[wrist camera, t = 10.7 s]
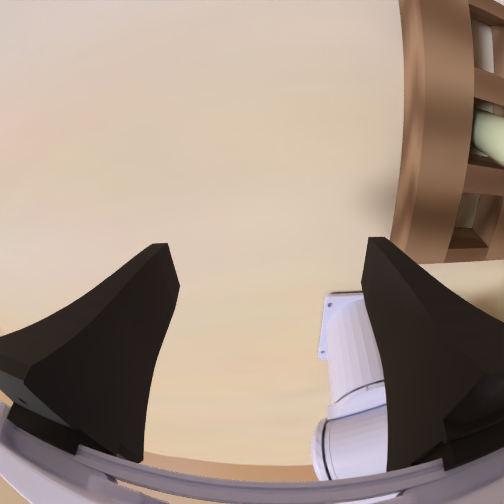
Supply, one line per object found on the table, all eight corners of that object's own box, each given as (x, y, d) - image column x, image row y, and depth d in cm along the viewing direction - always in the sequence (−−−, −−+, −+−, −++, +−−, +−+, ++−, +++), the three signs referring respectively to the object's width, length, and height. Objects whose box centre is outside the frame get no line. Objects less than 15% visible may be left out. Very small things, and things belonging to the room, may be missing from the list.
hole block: (495, 240, 20) (511, 258, 17) (389, 242, 21) (401, 264, 19) (519, 28, 9) (542, 30, 6) (395, -20, 10) (413, -32, 8)
